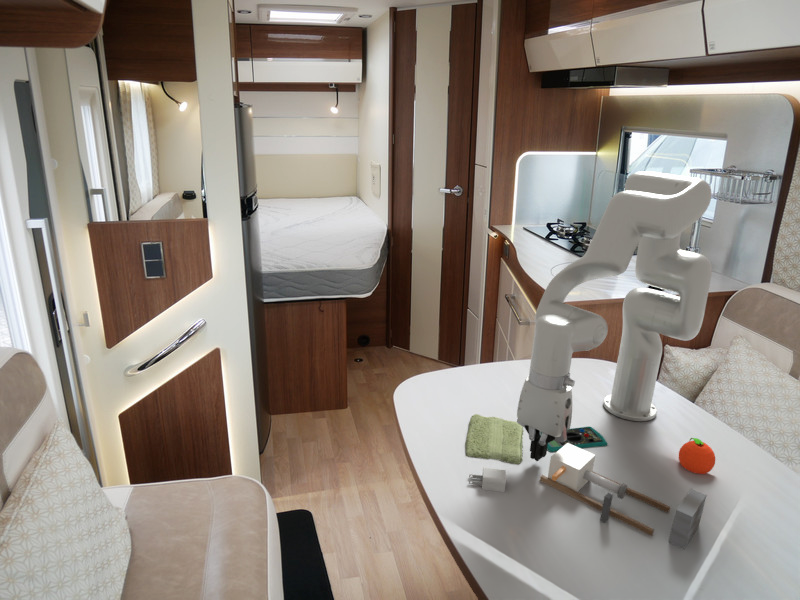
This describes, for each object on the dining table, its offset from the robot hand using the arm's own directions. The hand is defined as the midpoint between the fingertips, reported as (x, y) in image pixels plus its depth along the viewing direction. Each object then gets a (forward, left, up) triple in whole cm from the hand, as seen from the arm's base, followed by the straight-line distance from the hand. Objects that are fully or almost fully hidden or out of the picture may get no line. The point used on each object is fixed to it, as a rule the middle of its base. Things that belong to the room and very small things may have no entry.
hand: (537, 456), depth 122 cm
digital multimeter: (-14, +1, -4) cm, 14 cm away
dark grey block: (+6, +18, -2) cm, 19 cm away
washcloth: (-2, -12, -4) cm, 12 cm away
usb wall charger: (+13, -4, -3) cm, 14 cm away
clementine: (-24, +24, -3) cm, 34 cm away
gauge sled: (+2, +11, -2) cm, 12 cm away
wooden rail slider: (+1, +16, -3) cm, 16 cm away
